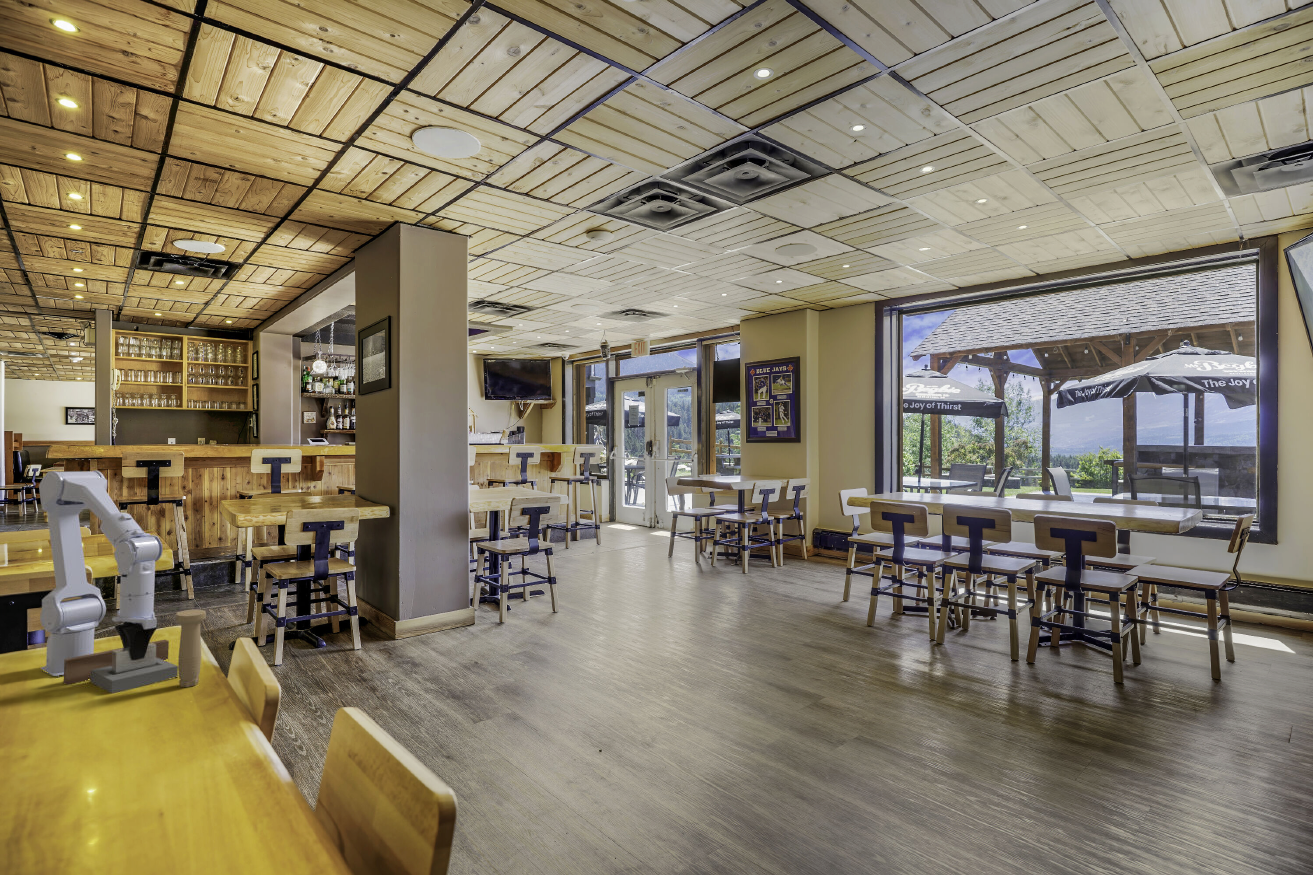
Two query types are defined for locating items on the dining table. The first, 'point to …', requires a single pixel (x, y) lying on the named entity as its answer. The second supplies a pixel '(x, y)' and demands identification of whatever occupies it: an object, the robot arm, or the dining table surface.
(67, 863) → the dining table surface
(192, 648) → the handle
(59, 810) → the dining table surface
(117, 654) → the white wooden block
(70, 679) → the brown long flat block
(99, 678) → the slotted grey plate
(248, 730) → the dining table surface
